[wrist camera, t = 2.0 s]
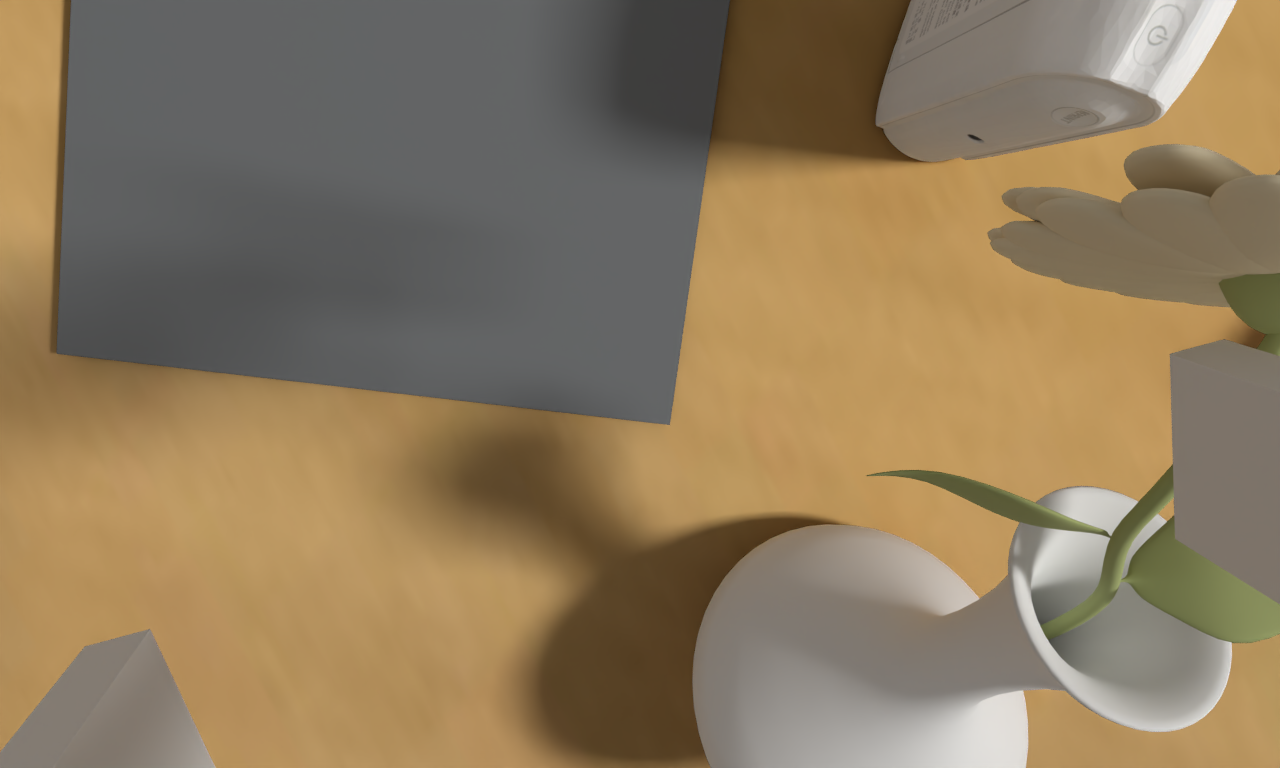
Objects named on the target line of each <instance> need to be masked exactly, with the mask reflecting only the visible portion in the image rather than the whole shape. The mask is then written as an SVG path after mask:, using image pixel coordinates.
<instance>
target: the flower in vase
mask: <svg viewBox="0 0 1280 768" xmlns="http://www.w3.org/2000/svg"><path fill="white" fill-rule="evenodd" d="M1124 169H1125V172H1126V176H1127V177H1128V179H1129V180H1130V182H1131V183H1132V184H1133V185H1134V186H1135V187H1136V188H1137V189H1138V190H1137V191H1134V192H1131V193H1129V194H1128V195H1127V196H1125V197H1124V198H1123V199H1122V202H1121V203H1119V202H1115V201H1112V200H1108V199H1105V198H1102V197H1099V196H1095V195H1091V194H1088V193H1084V192H1080V191H1076V190H1071V189H1066V188H1056V187H1039V188H1035V187H1024V188H1014V189H1010V190H1008V191H1007V192H1005V193H1004V194H1003V195H1002V200H1003V202H1004V204H1005V205H1007V206H1008V207H1010V208H1011V209H1012V210H1014V211H1016V212H1018V213H1020V214H1022V215H1025V216H1028V217H1029V218H1031V219H1033V220H1035V221H1013V222H1009V223H1007V224H1005V225H1004V226H1002V227H1001V228H995V229H992V230H990V231H989V232H988V237H989V239H990V240H991V242H990V244H991V246H992V248H993V250H994V251H996V252H997V253H999V254H1001V255H1003V256H1005V257H1007V258H1009V259H1011V261H1012V262H1013V263H1014V264H1015V265H1017V266H1019V267H1021V268H1023V269H1025V270H1027V271H1030V272H1033V273H1036V274H1040V275H1043V276H1047V277H1052V278H1057V279H1060V280H1061V281H1063V282H1064V283H1068V284H1071V285H1075V286H1080V287H1086V288H1092V289H1098V290H1104V291H1110V292H1115V293H1118V294H1121V295H1124V296H1130V297H1137V298H1144V299H1152V300H1160V301H1171V302H1184V303H1189V304H1195V305H1205V306H1218V307H1231V308H1232V309H1233V311H1234V312H1235V314H1236V315H1237V316H1238V317H1239V318H1240V319H1242V320H1243V321H1244V322H1245V323H1246V324H1247V325H1248V326H1250V327H1251V328H1253V329H1255V330H1257V331H1259V332H1261V333H1264V334H1266V336H1265V337H1264V339H1263V340H1262V342H1261V343H1260V345H1259V346H1258V348H1257V349H1258V350H1261V351H1264V352H1268V353H1271V354H1274V355H1278V356H1280V170H1279V171H1278V172H1277V174H1276V175H1255V174H1253V173H1252V172H1251V171H1249V170H1248V169H1246V168H1245V167H1243V166H1241V165H1239V164H1238V163H1236V162H1234V161H1233V160H1231V159H1229V158H1227V157H1225V156H1223V155H1221V154H1219V153H1217V152H1214V151H1212V150H1209V149H1206V148H1202V147H1198V146H1190V145H1180V144H1165V145H1157V146H1150V147H1146V148H1141V149H1139V150H1137V151H1134V152H1132V153H1131V154H1130V155H1129V156H1128V157H1127V158H1126V159H1125V162H1124ZM867 476H898V477H906V478H912V479H916V480H921V481H925V482H928V483H931V484H933V485H936V486H938V487H941V488H943V489H946V490H948V491H950V492H952V493H954V494H956V495H959V496H961V497H963V498H965V499H967V500H969V501H971V502H973V503H975V504H977V505H979V506H981V507H983V508H985V509H987V510H990V511H992V512H994V513H996V514H999V515H1001V516H1004V517H1007V518H1009V519H1012V520H1015V521H1018V522H1020V523H1019V525H1018V527H1017V529H1016V531H1015V533H1014V536H1013V539H1012V543H1011V546H1010V551H1009V559H1008V575H1007V576H1006V577H1005V578H1004V579H1003V580H1002V581H1001V582H1000V583H999V584H998V585H997V587H995V588H994V589H993V590H991V591H990V592H988V593H987V594H986V595H984V596H983V597H981V598H980V599H979V597H978V596H977V595H976V594H975V593H974V592H973V591H972V589H971V588H970V587H969V586H968V585H967V584H966V583H965V582H964V581H963V580H962V579H961V578H960V577H959V576H958V575H957V574H956V573H955V572H954V571H953V570H951V569H950V568H949V567H948V566H947V565H946V564H944V563H943V562H942V561H940V560H939V559H937V558H936V557H935V556H933V555H932V554H931V553H929V552H927V551H926V550H924V549H922V548H921V547H919V546H917V545H915V544H914V543H912V542H910V541H907V540H905V539H903V538H900V537H898V536H896V535H893V534H890V533H887V532H883V531H880V530H877V529H872V528H866V527H861V526H853V525H833V524H824V525H814V526H806V527H802V528H798V529H794V530H790V531H787V532H785V533H782V534H780V535H778V536H775V537H773V538H771V539H769V540H767V541H766V542H764V543H762V544H760V545H759V546H757V547H755V548H754V549H753V550H752V551H750V552H749V553H748V554H747V555H746V556H744V557H743V558H742V559H741V560H740V561H739V562H738V563H737V564H736V565H735V566H734V567H733V568H732V569H731V571H730V572H729V573H728V574H727V575H726V576H725V578H724V579H723V581H722V582H721V584H720V585H719V587H718V588H717V590H716V591H715V593H714V595H713V597H712V599H711V601H710V603H709V605H708V607H707V609H706V611H705V614H704V617H703V620H702V623H701V626H700V629H699V632H698V637H697V642H696V648H695V653H694V661H693V679H692V684H693V700H694V710H695V715H696V721H697V726H698V731H699V735H700V738H701V742H702V745H703V748H704V751H705V755H706V758H707V760H708V763H709V765H710V767H711V768H1026V760H1027V751H1028V719H1027V711H1026V703H1025V697H1024V693H1023V690H1038V689H1051V690H1062V691H1066V692H1067V693H1069V694H1070V695H1071V696H1072V697H1073V698H1074V699H1076V700H1077V701H1078V702H1080V703H1081V704H1082V705H1084V706H1085V707H1086V708H1088V709H1089V710H1091V711H1093V712H1095V713H1096V714H1098V715H1100V716H1101V717H1103V718H1106V719H1108V720H1110V721H1113V722H1115V723H1117V724H1120V725H1123V726H1127V727H1130V728H1134V729H1137V730H1143V731H1150V732H1168V731H1173V730H1178V729H1182V728H1185V727H1187V726H1190V725H1192V724H1194V723H1196V722H1197V721H1199V720H1200V719H1202V718H1203V717H1205V716H1206V715H1207V714H1208V713H1209V712H1210V711H1211V710H1212V709H1213V708H1214V706H1215V705H1216V703H1217V702H1218V700H1219V699H1220V698H1221V696H1222V693H1223V691H1224V689H1225V687H1226V684H1227V681H1228V677H1229V673H1230V667H1231V659H1232V643H1252V642H1256V641H1260V640H1264V639H1268V638H1271V637H1273V636H1276V635H1278V634H1280V604H1278V603H1277V602H1275V601H1274V600H1272V599H1270V598H1269V597H1267V596H1266V595H1264V594H1262V593H1261V592H1259V591H1258V590H1256V589H1254V588H1253V587H1251V586H1250V585H1248V584H1246V583H1245V582H1243V581H1242V580H1240V579H1238V578H1237V577H1235V576H1234V575H1232V574H1230V573H1229V572H1227V571H1226V570H1224V569H1222V568H1221V567H1219V566H1218V565H1216V564H1214V563H1213V562H1211V561H1210V560H1208V559H1206V558H1205V557H1203V556H1202V555H1200V554H1198V553H1197V552H1195V551H1194V550H1192V549H1190V548H1189V547H1187V546H1186V545H1184V544H1182V543H1181V542H1179V541H1178V540H1176V539H1175V520H1174V516H1173V517H1172V518H1171V519H1170V520H1168V521H1166V520H1165V519H1163V518H1162V517H1161V516H1160V515H1158V513H1159V512H1160V511H1161V510H1162V509H1163V508H1164V507H1165V506H1166V505H1167V504H1168V503H1169V502H1170V501H1171V500H1172V499H1173V497H1174V483H1173V465H1172V466H1171V467H1170V468H1169V469H1168V470H1167V471H1166V473H1165V474H1164V475H1163V476H1162V477H1161V478H1160V479H1159V480H1158V482H1157V483H1156V484H1155V485H1154V486H1153V487H1152V488H1151V489H1150V490H1149V491H1148V492H1147V493H1146V495H1145V496H1144V497H1143V498H1142V499H1141V500H1140V501H1139V502H1138V501H1136V500H1135V499H1132V498H1130V497H1128V496H1126V495H1123V494H1121V493H1118V492H1115V491H1112V490H1109V489H1104V488H1099V487H1092V486H1075V487H1067V488H1063V489H1059V490H1056V491H1054V492H1052V493H1049V494H1047V495H1045V496H1044V497H1042V498H1041V499H1040V500H1038V501H1037V502H1036V503H1034V502H1032V501H1030V500H1027V499H1025V498H1022V497H1020V496H1017V495H1015V494H1012V493H1010V492H1007V491H1004V490H1001V489H998V488H996V487H993V486H990V485H987V484H984V483H981V482H978V481H974V480H971V479H968V478H964V477H961V476H956V475H951V474H946V473H942V472H934V471H923V470H899V471H890V472H882V473H876V474H871V475H867ZM1231 642H1232V643H1231Z"/></svg>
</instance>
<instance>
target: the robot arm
mask: <svg viewBox="0 0 1280 768" xmlns="http://www.w3.org/2000/svg"><path fill="white" fill-rule="evenodd" d="M1170 374H1171V410H1172V447H1173V483H1174V520H1175V539H1176V540H1178V541H1179V542H1181V543H1182V544H1184V545H1186V546H1187V547H1189V548H1190V549H1192V550H1194V551H1195V552H1197V553H1198V554H1200V555H1202V556H1203V557H1205V558H1206V559H1208V560H1210V561H1211V562H1213V563H1214V564H1216V565H1218V566H1219V567H1221V568H1222V569H1224V570H1226V571H1227V572H1229V573H1230V574H1232V575H1234V576H1235V577H1237V578H1238V579H1240V580H1242V581H1243V582H1245V583H1246V584H1248V585H1250V586H1251V587H1253V588H1254V589H1256V590H1258V591H1259V592H1261V593H1262V594H1264V595H1266V596H1267V597H1269V598H1270V599H1272V600H1274V601H1275V602H1277V603H1278V604H1280V356H1278V355H1274V354H1271V353H1268V352H1264V351H1261V350H1258V349H1255V348H1251V347H1248V346H1245V345H1242V344H1238V343H1235V342H1232V341H1228V340H1225V339H1223V340H1219V341H1216V342H1212V343H1208V344H1205V345H1201V346H1197V347H1194V348H1190V349H1186V350H1182V351H1179V352H1175V353H1171V354H1170ZM0 768H215V766H214V764H213V762H212V759H211V757H210V755H209V753H208V751H207V749H206V747H205V745H204V742H203V740H202V738H201V736H200V734H199V732H198V730H197V728H196V725H195V723H194V721H193V719H192V717H191V715H190V713H189V711H188V708H187V706H186V704H185V702H184V700H183V698H182V696H181V694H180V692H179V689H178V687H177V685H176V683H175V681H174V679H173V677H172V675H171V672H170V670H169V668H168V666H167V664H166V662H165V660H164V658H163V655H162V653H161V651H160V649H159V647H158V645H157V643H156V641H155V638H154V636H153V634H152V632H151V630H150V629H148V630H145V631H141V632H137V633H134V634H130V635H126V636H123V637H119V638H115V639H111V640H108V641H104V642H100V643H97V644H93V645H89V646H85V647H84V648H83V649H82V651H81V652H80V653H79V654H78V656H77V657H76V658H75V659H74V661H73V662H72V663H71V664H70V666H69V667H68V668H67V669H66V671H65V672H64V673H63V674H62V676H61V677H60V678H59V679H58V681H57V682H56V683H55V684H54V686H53V687H52V688H51V689H50V691H49V692H48V693H47V694H46V696H45V697H44V698H43V699H42V701H41V702H40V703H39V704H38V706H37V707H36V708H35V709H34V711H33V712H32V713H31V714H30V716H29V717H28V718H27V719H26V721H25V722H24V723H23V724H22V726H21V727H20V728H19V729H18V731H17V732H16V733H15V734H14V736H13V737H12V738H11V739H10V741H9V742H8V743H7V744H6V746H5V747H4V748H3V749H2V751H1V752H0Z"/></svg>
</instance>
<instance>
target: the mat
mask: <svg viewBox="0 0 1280 768" xmlns="http://www.w3.org/2000/svg"><path fill="white" fill-rule="evenodd" d="M729 3H730V0H71V15H70V40H69V64H68V88H67V113H66V137H65V161H64V186H63V210H62V235H61V259H60V283H59V308H58V332H57V354H64V355H73V356H81V357H90V358H99V359H107V360H116V361H124V362H133V363H142V364H150V365H159V366H168V367H176V368H185V369H193V370H202V371H211V372H219V373H228V374H236V375H245V376H254V377H262V378H271V379H280V380H288V381H297V382H305V383H314V384H323V385H331V386H340V387H348V388H357V389H366V390H374V391H383V392H392V393H400V394H409V395H417V396H426V397H435V398H443V399H452V400H460V401H469V402H478V403H486V404H495V405H504V406H512V407H521V408H529V409H538V410H547V411H555V412H564V413H573V414H581V415H590V416H598V417H607V418H616V419H624V420H633V421H641V422H650V423H659V424H667V425H670V419H671V412H672V405H673V398H674V391H675V384H676V377H677V370H678V363H679V356H680V349H681V342H682V335H683V328H684V321H685V313H686V306H687V299H688V292H689V285H690V278H691V271H692V264H693V257H694V250H695V243H696V236H697V229H698V222H699V215H700V208H701V201H702V193H703V186H704V179H705V172H706V165H707V158H708V151H709V144H710V137H711V130H712V123H713V116H714V109H715V102H716V95H717V88H718V81H719V73H720V66H721V59H722V52H723V45H724V38H725V31H726V24H727V17H728V10H729Z"/></svg>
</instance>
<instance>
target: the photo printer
mask: <svg viewBox="0 0 1280 768" xmlns="http://www.w3.org/2000/svg"><path fill="white" fill-rule="evenodd" d="M1236 1H1237V0H911V1H910V4H909V7H908V10H907V13H906V16H905V19H904V21H903V24H902V27H901V30H900V33H899V35H898V39H897V42H896V44H895V47H894V50H893V53H892V56H891V59H890V62H889V66H888V69H887V72H886V75H885V78H884V82H883V85H882V89H881V92H880V97H879V101H878V106H877V112H876V120H875V121H876V126H878V127H881V128H883V129H884V133H885V135H886V137H887V138H888V139H889V141H890V142H891V143H892V144H893V145H894V146H895V147H896V148H897V149H898V150H899V151H901V152H902V153H904V154H905V155H907V156H909V157H911V158H914V159H917V160H920V161H927V162H938V161H944V160H949V159H954V158H959V157H960V158H962V159H965V160H973V159H981V158H987V157H993V156H998V155H1003V154H1008V153H1013V152H1018V151H1023V150H1028V149H1033V148H1038V147H1043V146H1048V145H1053V144H1058V143H1063V142H1068V141H1074V140H1078V139H1083V138H1089V137H1094V136H1098V135H1103V134H1108V133H1113V132H1118V131H1122V130H1127V129H1132V128H1138V127H1142V126H1146V125H1149V124H1151V123H1153V122H1155V121H1156V120H1158V119H1160V118H1161V117H1162V116H1163V115H1164V114H1165V112H1166V111H1167V110H1168V109H1169V107H1170V106H1171V105H1172V104H1173V102H1174V101H1175V100H1176V99H1177V98H1178V96H1179V95H1180V94H1181V92H1182V91H1183V90H1184V88H1185V87H1186V86H1187V84H1188V83H1189V81H1190V80H1191V79H1192V77H1193V76H1194V74H1195V73H1196V72H1197V70H1198V68H1199V67H1200V65H1201V64H1202V62H1203V61H1204V59H1205V57H1206V55H1207V53H1208V52H1209V50H1210V49H1211V47H1212V45H1213V43H1214V42H1215V40H1216V38H1217V36H1218V35H1219V33H1220V31H1221V30H1222V28H1223V26H1224V24H1225V22H1226V20H1227V18H1228V16H1229V15H1230V13H1231V11H1232V9H1233V7H1234V5H1235V3H1236Z"/></svg>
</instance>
